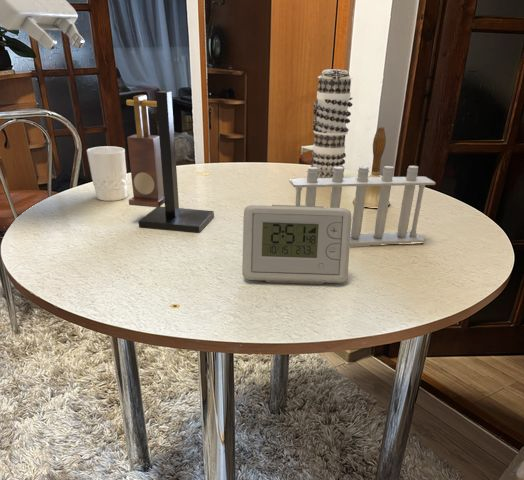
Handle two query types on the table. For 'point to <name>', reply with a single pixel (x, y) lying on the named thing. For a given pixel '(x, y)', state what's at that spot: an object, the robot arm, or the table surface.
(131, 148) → the clock
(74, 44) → the robot arm
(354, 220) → the test tube rack
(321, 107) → the white patterned cylinder
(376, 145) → the hand bell
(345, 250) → the digital clock
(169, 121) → the stand
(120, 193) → the white cup
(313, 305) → the table surface
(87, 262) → the table surface
